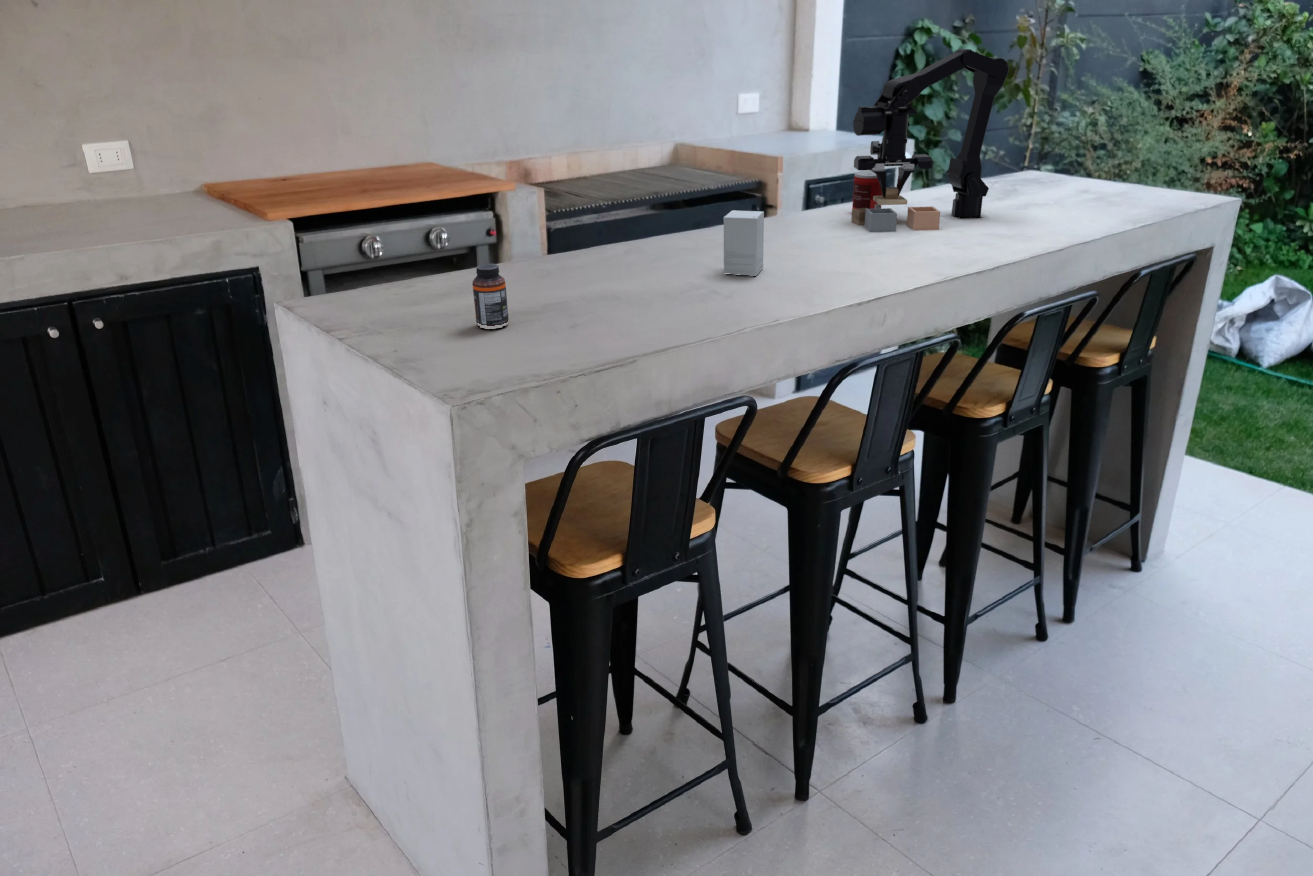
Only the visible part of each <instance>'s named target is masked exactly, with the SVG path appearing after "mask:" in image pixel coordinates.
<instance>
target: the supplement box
mask: <svg viewBox="0 0 1313 876" xmlns="http://www.w3.org/2000/svg"><path fill="white" fill-rule="evenodd" d="M722 219H723V274H724V273H730V274H740V275H749V276H748V277H753V276H756V275H757V274H758V273H759V272H760V271H761V270H762V271H763V269H764V238H765V236H764V235H765V233H764V232H765V231H764V230H765V229H764V228H765V223H764V222H765V212H764V211H757V210H756V211H754V210H735V209H734V210H730V212H728V213H727V214H726V215H724V216H723V218H722ZM762 271H761V272H762ZM761 272H760V273H761ZM760 273H759V274H760ZM759 274H758V275H759ZM758 275H757V276H758ZM757 276H756V277H757Z"/></svg>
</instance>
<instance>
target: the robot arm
mask: <svg viewBox="0 0 1313 876" xmlns="http://www.w3.org/2000/svg"><path fill="white" fill-rule="evenodd" d="M963 69H965V70H966V71H968V72H971V73H972V74H973V76H972V77H973V78H972V84H973V89H974V97H973V101H972V105H971V108H970V109H971V110H970V113H969V117H968V121H967V126H966V129H965V133H964V137H963V141H962V146H961V148H960V149H961V150H960V152H959V154H958V155H957V156H956V157H950V159H949V165H948V169H947V171H946V174H947V180H948V182H949V184H950V185H951V187H952V191H953V193H955V195H954V196H955V197H954V199H952V207H951V215H952V216H953V217H955V218H956V219H959V220H963V219H964V220H965V219H966V220H967V219H983V217H982V216H981V214H982V209H983V208H982V207H983V199H984V197H986V196H987V194H988V192H989V187H988V186H987V185H986V183H985V182H984V181H983V180H982V179H981V178H982V172H983V166H982V160H981V152H982V148H983V143H984V140H985V137H986V133H987V128H988V124H989V120H990V117H991V113H992V108H993V105H994V101H995V97H997V94H999V91H1000V90H1001V89H1002V88H1003V86H1004V85H1005V82H1006V80H1007V77H1008V74H1009V71H1010V66H1009V64H1008V63H1007V61H1006V60H1005V58H1001V57H993V56H987V55H983V54H981V53H979V52H976V51H973V50H972V49H969V48H958V49H956V50H955V51H954V52H952V53H951V54H949V55H947V56H945V57H943V58H941V59H939V60H938V61H935V62H934V63H932V64H930V65H928V66H926V67H925V68H922V69H921V70H919V71H917V72H914V73H911V74H908V75H907V74H906V75H902V76H899V77H896V78H893V79H890V80H889V81H887V82H885V84H884V87H883V91H882V93H881V94H880V96H879V97H878V98H877V100H876V101H875V103H874V104H873V106H858V108H857V109H858V111H856V113H855V115H854V119H853V122H852V126H853V132H854V134H855V135H856V136H859V137H860V136H874V135H875V136H876V135H877V136H878V135H881V134H882V133H883V134H882V135H883V136H882V138H881V143H880V140H872V141H871V142H870V147H869V148H870V149H869V150H870V155H856V156H855V158H854V160H853V168H854V169H856V170H857V171H872V172H873V173H876V175H877V178H878V181H879V184H880V188H881V192H882V196H883V197H885V195H886V187H887V170H885V167H898V168H897V169H898V173H897V175H898V176H897V181H896V186H895V187H896V188H898V196H899V195H901V192H902V190H903V188H904V186H905V184H906V182H907V180H908V179H909V177H910V176H911V174H912V173H916V170H915V169H914V168H915V166H917V167H918V168H919V169H921V170H926V169H927V170H929V169H933V164H934V160H933V158H932V157H931V155H928V154H926V153H923V154H922V153H920V154H917V153H916V154H912V155H911V157H907V156H906V152H907V150H906V149H907V144H908V138H907V137H908V126H909V124H908V123H909V115H916V114H918V111H917V110H916V109H915V107H913V105H912V104H911V103H912V102H913V101H914V100H916V99H917V98H918V97H919V96H920V95H921V93H922V92H923V91H924V90H926V89H927V88H928V87H931V86H933V85H934V84H936V83H938V82H940V81H942V80H944V79H946V78H948V77H950V76H951V75H953V74H955V73H957V72H958V71H961V70H963ZM872 156H877V158H874V157H872Z"/></svg>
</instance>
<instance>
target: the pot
mask: <svg viewBox="0 0 1313 876" xmlns="http://www.w3.org/2000/svg"><path fill="white" fill-rule="evenodd" d="M906 214H907V216H906V226H907V227H909V228H910V229H911V230H912V231H929V230H930V231H934V230H937V231H938V230H940V220H941V211H940V210H939V209H937V208H936V207H935V206H909V207H907V213H906Z"/></svg>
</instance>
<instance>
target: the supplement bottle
mask: <svg viewBox="0 0 1313 876" xmlns="http://www.w3.org/2000/svg"><path fill="white" fill-rule="evenodd" d="M475 270H476V272H475V273H476V276H475V277H474V278H473V280H472V291H473V292H472V293H473V294H472V295H473V301H474V312H475V322H476V324H477V323H479V324H481V325H487V326H495V325H502V324H504V323H507V322H508V320H510V319H509V318H510V317H509V309H508V307H509V306H508V298H507V286H506V285H507V284H506V280H505V278H504V277H503V276H502V275H500V269H499V265H498V264H496V263H482V264H479V265H477V266H476V269H475Z"/></svg>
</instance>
